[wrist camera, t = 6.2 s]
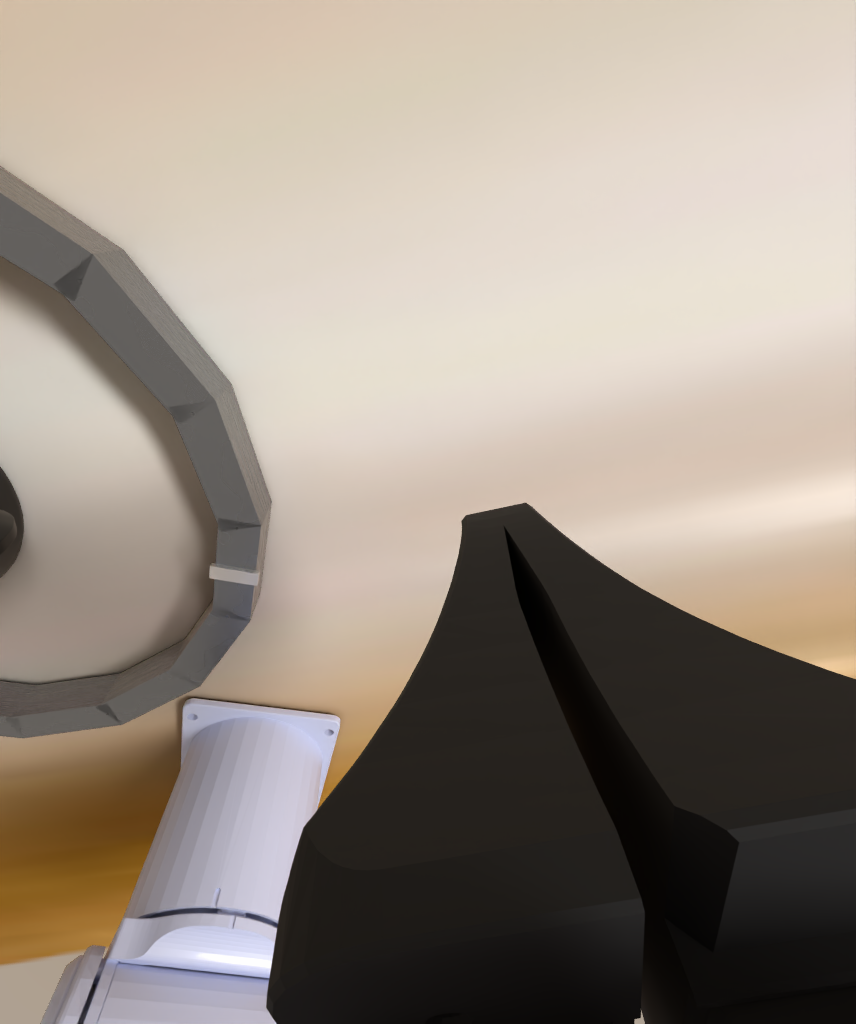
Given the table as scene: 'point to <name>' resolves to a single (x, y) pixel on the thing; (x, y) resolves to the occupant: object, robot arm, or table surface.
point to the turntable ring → (207, 437)
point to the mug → (9, 524)
